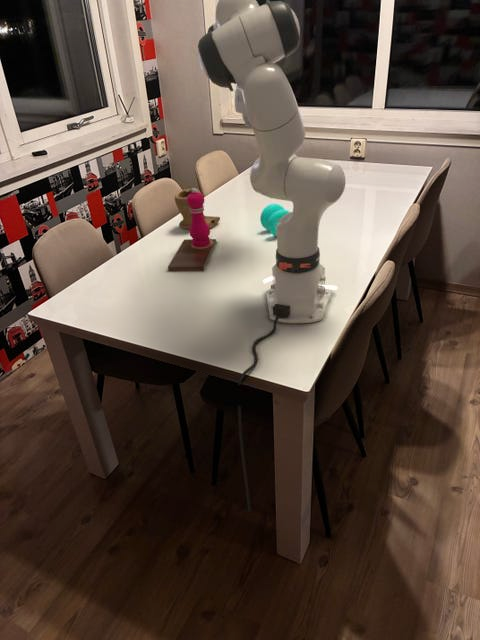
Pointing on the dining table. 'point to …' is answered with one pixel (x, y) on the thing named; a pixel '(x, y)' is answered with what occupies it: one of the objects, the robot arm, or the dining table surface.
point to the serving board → (191, 256)
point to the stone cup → (185, 211)
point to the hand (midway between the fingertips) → (256, 130)
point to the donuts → (272, 217)
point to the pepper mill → (198, 220)
